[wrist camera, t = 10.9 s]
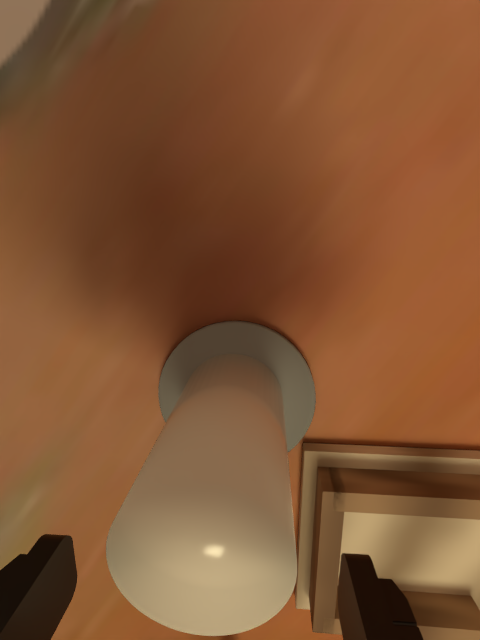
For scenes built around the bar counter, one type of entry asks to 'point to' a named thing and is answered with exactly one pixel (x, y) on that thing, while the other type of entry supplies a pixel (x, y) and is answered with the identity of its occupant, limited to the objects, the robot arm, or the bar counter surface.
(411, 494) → the holder
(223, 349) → the mat
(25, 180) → the bar counter surface
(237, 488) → the white capsule with tab
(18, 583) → the robot arm
